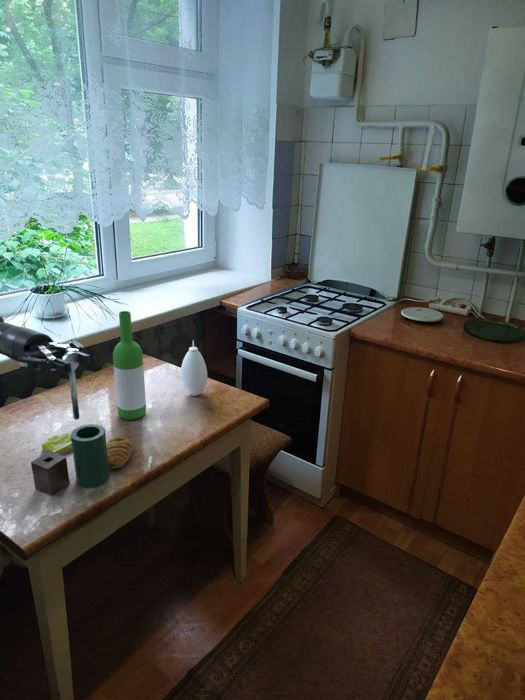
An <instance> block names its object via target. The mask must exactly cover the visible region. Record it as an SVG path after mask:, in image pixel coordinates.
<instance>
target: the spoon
mask: <svg viewBox="0 0 525 700" xmlns="http://www.w3.org/2000/svg"><path fill="white" fill-rule="evenodd" d="M62 360H64V361H67V362H70V364H71V369H72V372H71V373H68V378H69V389H70V398H71V407H72V417H73V420H77V421H78V420H79V419H80V408H79V397H78V388H77V378H76V370H77V369H78V367H79V365H80V363H79V362H80V358H79V355H78V354H77V353H75V352H68V353H66V354H65V355H64V357H63V358H62Z"/></svg>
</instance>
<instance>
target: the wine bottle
mask: <svg viewBox="0 0 525 700" xmlns="http://www.w3.org/2000/svg"><path fill="white" fill-rule="evenodd" d="M118 318H119V319H118V321H119V333H120V334H119V335H120V341H119V342H118V343H117V344H116V345H115V347H114V349H113V352H112V362H113V372H114V375H113V376H114V384H115V385H114V387H115V396H116V408H117V414H118V416H119V417H120V418H121V419H124V420H129V421H132V420H133V421H134V420H137V419H141V418H142V417H144V415H146V412H147V411H146V410H147V399H146V384H145V383H146V382H145V370H144V369H145V368H144V355H143V350H142V348H141V346H140V345H139V344H138V343H137V342H136V341H134V339H133V328H132V314H131V312H130V311H128V310H122V311H120V312H119V313H118Z"/></svg>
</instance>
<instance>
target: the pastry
mask: <svg viewBox="0 0 525 700" xmlns="http://www.w3.org/2000/svg"><path fill="white" fill-rule="evenodd" d="M106 446H107V456H108V466H109V470H113V469H119V468H123V467H124V466H125V464H126V463H127V462H128V461H129V460H130V457H131V455H132V449H133V444H131V442H130V441H129V440H128V439H127V438H125V437H123V436H116V437H114V438H111V439H109V440H108V441H106Z"/></svg>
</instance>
